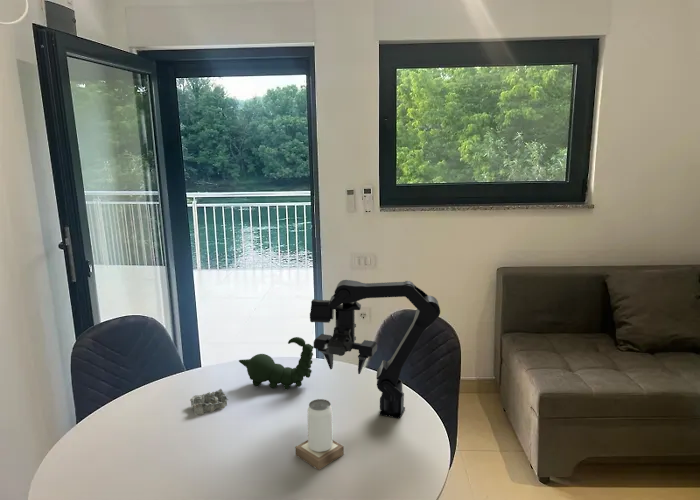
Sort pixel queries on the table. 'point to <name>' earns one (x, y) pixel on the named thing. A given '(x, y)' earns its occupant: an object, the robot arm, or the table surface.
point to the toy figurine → (280, 368)
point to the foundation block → (319, 454)
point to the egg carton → (212, 398)
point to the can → (320, 425)
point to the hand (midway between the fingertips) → (345, 371)
